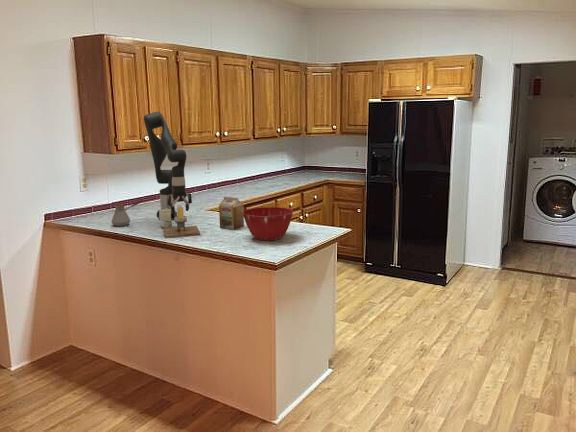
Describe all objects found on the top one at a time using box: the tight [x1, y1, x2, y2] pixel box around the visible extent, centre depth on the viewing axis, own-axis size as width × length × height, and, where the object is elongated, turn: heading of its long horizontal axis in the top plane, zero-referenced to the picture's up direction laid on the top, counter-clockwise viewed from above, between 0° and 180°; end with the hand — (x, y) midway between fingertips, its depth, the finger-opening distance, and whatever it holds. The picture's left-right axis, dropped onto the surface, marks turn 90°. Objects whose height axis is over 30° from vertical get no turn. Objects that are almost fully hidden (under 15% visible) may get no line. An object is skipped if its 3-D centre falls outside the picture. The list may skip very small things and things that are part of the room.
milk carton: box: [218, 196, 245, 231], centre depth 309 cm, size 11×11×19 cm
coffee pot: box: [111, 199, 145, 228], centre depth 322 cm, size 21×12×15 cm, turn 120°
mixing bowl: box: [242, 206, 294, 242], centre depth 284 cm, size 28×28×16 cm
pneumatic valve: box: [156, 208, 178, 228], centre depth 314 cm, size 6×12×12 cm, turn 79°
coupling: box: [174, 204, 188, 224], centre depth 297 cm, size 7×11×9 cm, turn 15°
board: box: [162, 222, 201, 239], centre depth 298 cm, size 20×20×6 cm
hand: (180, 211), depth 296 cm, fingers open, 8 cm apart
